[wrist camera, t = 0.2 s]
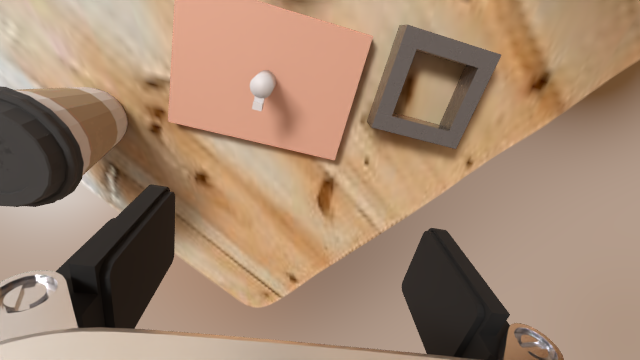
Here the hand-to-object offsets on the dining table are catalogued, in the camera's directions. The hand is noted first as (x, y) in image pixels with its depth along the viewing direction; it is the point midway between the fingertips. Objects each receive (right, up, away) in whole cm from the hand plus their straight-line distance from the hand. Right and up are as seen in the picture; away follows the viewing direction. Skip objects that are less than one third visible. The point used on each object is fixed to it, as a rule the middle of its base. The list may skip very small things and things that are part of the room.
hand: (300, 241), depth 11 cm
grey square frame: (+14, +14, +28) cm, 35 cm away
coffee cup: (-28, +11, +28) cm, 40 cm away
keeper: (-6, +15, +26) cm, 31 cm away
